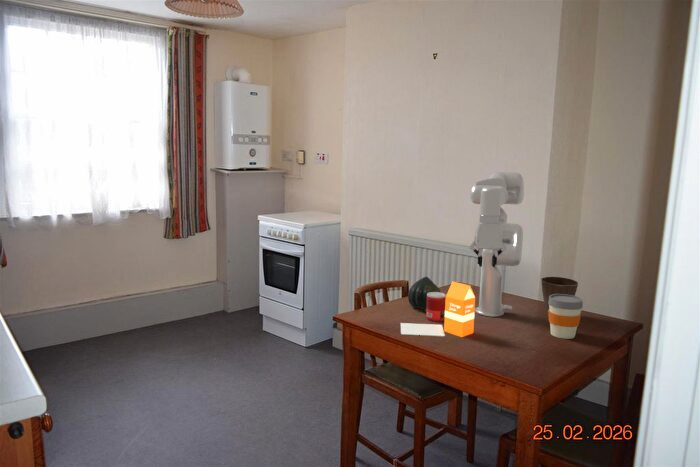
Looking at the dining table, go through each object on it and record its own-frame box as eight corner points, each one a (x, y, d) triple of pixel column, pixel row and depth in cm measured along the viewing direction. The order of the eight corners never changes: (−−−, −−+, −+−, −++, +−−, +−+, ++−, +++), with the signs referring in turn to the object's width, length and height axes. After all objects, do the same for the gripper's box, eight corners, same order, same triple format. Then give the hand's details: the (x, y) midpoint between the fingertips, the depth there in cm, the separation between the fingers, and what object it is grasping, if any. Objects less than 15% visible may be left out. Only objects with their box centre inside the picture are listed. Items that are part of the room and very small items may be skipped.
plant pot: (579, 315, 228) (582, 280, 226) (568, 323, 217) (572, 287, 214) (545, 308, 238) (548, 275, 235) (533, 316, 226) (536, 281, 224)
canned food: (444, 322, 216) (445, 297, 214) (425, 321, 218) (426, 296, 216) (445, 317, 224) (446, 292, 222) (426, 315, 225) (427, 291, 223)
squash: (417, 303, 224) (435, 276, 227) (397, 296, 236) (414, 270, 240) (435, 321, 230) (453, 293, 234) (415, 313, 243) (432, 287, 246)
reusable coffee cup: (538, 331, 207) (541, 295, 205) (562, 327, 212) (565, 292, 210) (562, 342, 196) (566, 304, 193) (587, 337, 201) (590, 300, 198)
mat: (441, 325, 213) (441, 324, 213) (444, 336, 200) (445, 335, 200) (400, 323, 214) (400, 323, 214) (401, 334, 201) (401, 333, 201)
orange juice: (461, 337, 199) (464, 287, 196) (443, 331, 206) (445, 282, 203) (473, 332, 205) (476, 284, 201) (455, 327, 211) (458, 279, 208)
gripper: (509, 219, 200) (506, 264, 203) (465, 217, 202) (463, 263, 205) (514, 221, 193) (511, 269, 196) (468, 220, 194) (466, 267, 197)
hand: (486, 265), depth 200 cm, fingers open, 4 cm apart
